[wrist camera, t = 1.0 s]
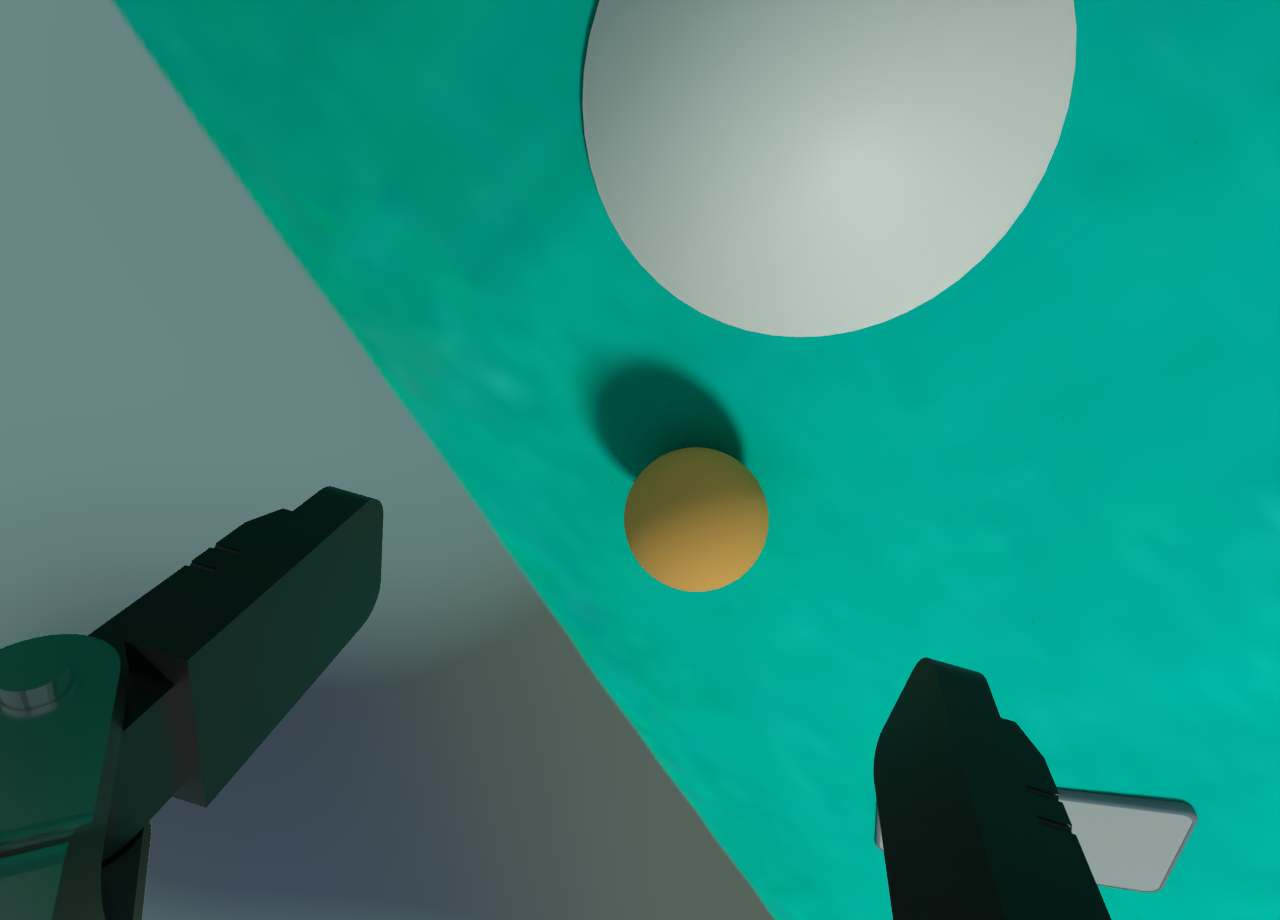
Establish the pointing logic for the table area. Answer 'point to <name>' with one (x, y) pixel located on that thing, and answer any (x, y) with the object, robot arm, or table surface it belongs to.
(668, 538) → the ball
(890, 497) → the table surface
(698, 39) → the disc
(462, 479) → the table surface
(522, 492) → the table surface
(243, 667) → the robot arm
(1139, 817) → the smartphone
